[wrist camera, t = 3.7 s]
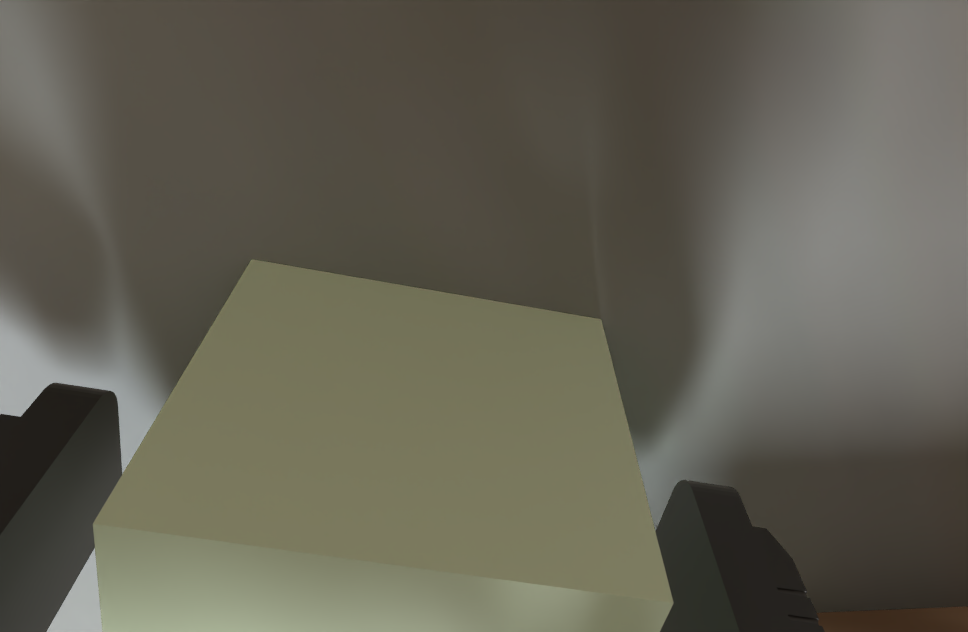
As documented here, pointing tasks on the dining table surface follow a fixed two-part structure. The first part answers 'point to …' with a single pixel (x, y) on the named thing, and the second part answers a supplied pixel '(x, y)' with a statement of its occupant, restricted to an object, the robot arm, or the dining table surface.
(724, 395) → the dining table surface
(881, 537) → the dining table surface
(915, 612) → the walnut cube
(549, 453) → the sage cube
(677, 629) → the robot arm
